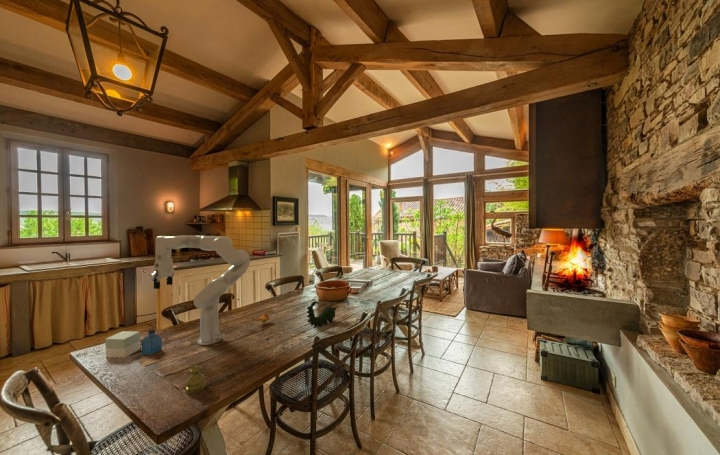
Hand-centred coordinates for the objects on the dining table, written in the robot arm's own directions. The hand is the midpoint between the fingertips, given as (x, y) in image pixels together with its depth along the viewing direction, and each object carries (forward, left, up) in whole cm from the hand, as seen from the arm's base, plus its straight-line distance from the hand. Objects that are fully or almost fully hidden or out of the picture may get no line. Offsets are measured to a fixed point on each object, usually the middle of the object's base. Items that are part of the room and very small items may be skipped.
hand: (163, 286), depth 161 cm
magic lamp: (-47, -31, -34) cm, 65 cm away
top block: (+13, +12, -29) cm, 34 cm away
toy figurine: (-89, -32, -34) cm, 100 cm away
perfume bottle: (-1, +10, -34) cm, 35 cm away
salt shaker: (-45, +43, -34) cm, 70 cm away
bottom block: (+13, +12, -34) cm, 38 cm away
